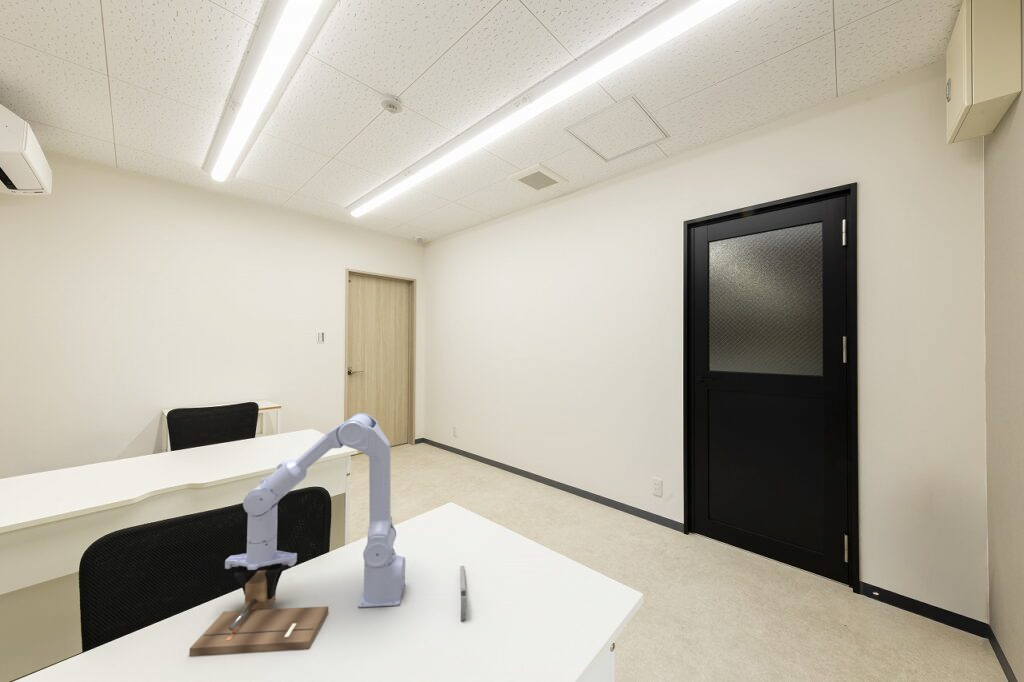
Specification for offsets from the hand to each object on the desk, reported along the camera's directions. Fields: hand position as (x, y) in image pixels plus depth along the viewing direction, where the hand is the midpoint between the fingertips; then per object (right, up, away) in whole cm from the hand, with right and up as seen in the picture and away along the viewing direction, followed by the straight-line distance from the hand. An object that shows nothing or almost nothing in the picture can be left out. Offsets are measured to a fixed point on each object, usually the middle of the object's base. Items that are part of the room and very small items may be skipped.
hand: (260, 596), depth 86 cm
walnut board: (+6, -2, -7) cm, 10 cm away
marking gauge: (0, -2, -4) cm, 5 cm away
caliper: (+45, -4, +7) cm, 46 cm away
